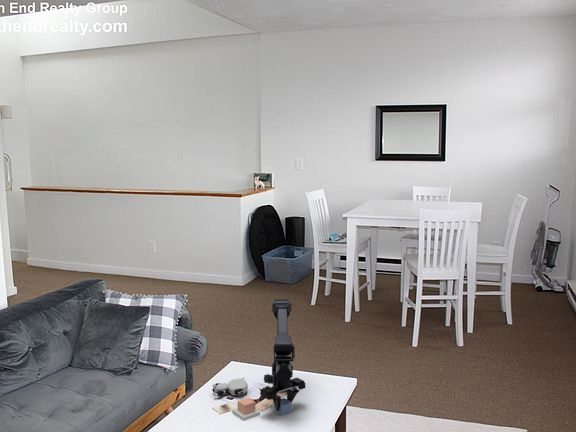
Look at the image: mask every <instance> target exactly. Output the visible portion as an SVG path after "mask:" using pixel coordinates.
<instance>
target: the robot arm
mask: <svg viewBox="0 0 576 432" xmlns="http://www.w3.org/2000/svg"><path fill="white" fill-rule="evenodd" d="M292 305H293V304H292V301H289V299H288V298H287V299H286V298H282V299H281V298H278V299H277V298H276V299H274V301H271V312H272V313H273V316H274V317H275V319H276V336H275V340H274V341H275V342H274V343H273V363H271V374H270V373H269V374H268V373H266V374H264V375H263V382H264V383H265V384H268V385H271V384H272V386H266V387H263V388H261V389H260V394H259V396H261V397H262V398H264V399H266V400H268V401H270V400H272V402H273V404H274V405H275V407H276V410H277V411H279V408H280V402H281V399H282V396H281V395H280V393H284V392H286V399H287V400H289V401H291V402H292V403H293V401H294V400H295V398H296V397H297V394H298V393H300V390H303V389H306V382H305V380H303V379H301V378H299V377H294V378H293V374H294V373H293V372H294V366H293V364H292V363H291V362H294V359H295V358H296V354H295V352H296V351H295V350H296V349H295V345H294V343H293V342H292V337H291V335H290V334H289V330H288V329H289V328H288V318H289V317H290V315H291V314H290V312H292V309H293V308H292ZM290 355H291V356H290ZM274 405H273V406H274Z"/></svg>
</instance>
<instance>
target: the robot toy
mask: <svg viewBox="0 0 576 432" xmlns="http://www.w3.org/2000/svg"><path fill="white" fill-rule="evenodd" d="M212 387H213V388H212V392H213V396H214V397H221V396H225V395H228V394H231V395H232V396H238V397H239V396H242V395H244V394H245V393H247V392H248V382H247V381H246V380H245V377H242V378H236V379H230V381H228V383H227V382H223V383H222V382H221V383H219V382H218V383H217V382H216V383H213V384H212Z"/></svg>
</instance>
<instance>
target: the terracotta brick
mask: <svg viewBox="0 0 576 432" xmlns="http://www.w3.org/2000/svg"><path fill="white" fill-rule="evenodd" d="M237 406H238V411H239V412H241V413H242V414H244V415H246V414H249V413H252V412H255V409H256V401H255V400H253V399H251V397H246V398H241V399H239V400H237Z"/></svg>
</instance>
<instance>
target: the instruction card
mask: <svg viewBox="0 0 576 432" xmlns="http://www.w3.org/2000/svg"><path fill="white" fill-rule="evenodd" d="M237 408H238V405H237V404H235V403H233V402H232V401H231V402H226V403H223V404H221V405H218V406H215V407H214V406H213V407H212V410H214V411H215V412H216V413H218V414H219V415H222V414H225V413H228V412H232V410H234V409H237Z"/></svg>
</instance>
